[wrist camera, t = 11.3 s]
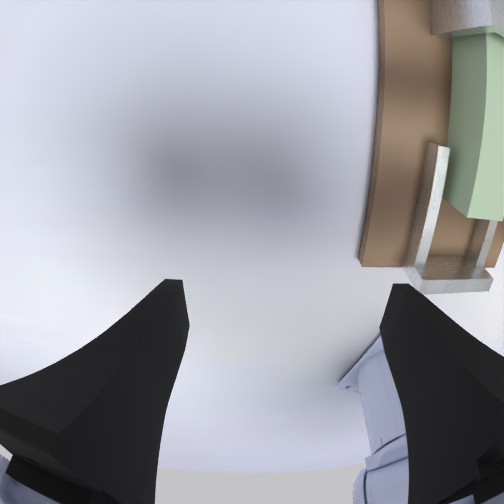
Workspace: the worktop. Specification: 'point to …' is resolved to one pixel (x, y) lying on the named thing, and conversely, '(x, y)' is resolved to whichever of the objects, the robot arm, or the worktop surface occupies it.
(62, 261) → the worktop surface
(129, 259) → the worktop surface
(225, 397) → the worktop surface
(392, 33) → the board
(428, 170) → the end caps
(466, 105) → the green long rectangular block
